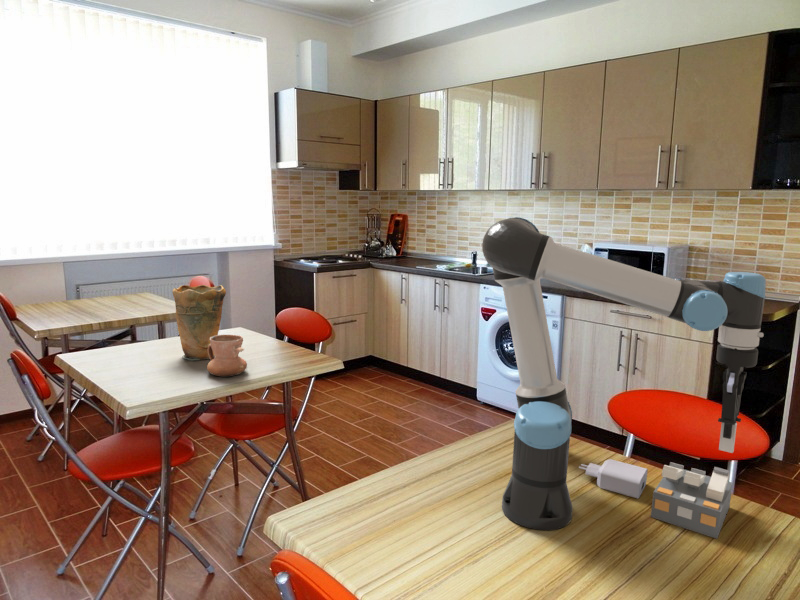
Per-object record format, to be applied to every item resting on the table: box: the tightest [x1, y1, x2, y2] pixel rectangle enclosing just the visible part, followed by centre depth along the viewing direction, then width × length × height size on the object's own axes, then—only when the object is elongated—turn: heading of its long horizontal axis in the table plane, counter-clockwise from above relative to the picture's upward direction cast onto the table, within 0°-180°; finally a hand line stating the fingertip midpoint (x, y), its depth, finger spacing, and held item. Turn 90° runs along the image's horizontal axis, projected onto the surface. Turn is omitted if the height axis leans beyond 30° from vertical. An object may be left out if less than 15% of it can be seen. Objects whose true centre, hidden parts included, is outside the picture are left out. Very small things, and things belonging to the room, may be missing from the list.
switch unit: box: [650, 469, 733, 539], centre depth 128 cm, size 16×13×7 cm
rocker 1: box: [661, 461, 685, 480], centre depth 130 cm, size 8×3×2 cm, turn 143°
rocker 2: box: [684, 467, 707, 487], centre depth 128 cm, size 8×3×2 cm, turn 143°
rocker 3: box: [706, 466, 730, 502], centre depth 125 cm, size 8×3×2 cm, turn 143°
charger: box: [578, 459, 649, 500], centre depth 141 cm, size 5×9×15 cm
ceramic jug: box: [206, 334, 248, 377], centre depth 219 cm, size 18×14×14 cm
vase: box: [172, 284, 227, 361], centre depth 240 cm, size 21×20×30 cm
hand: (726, 450), depth 126 cm, fingers closed
